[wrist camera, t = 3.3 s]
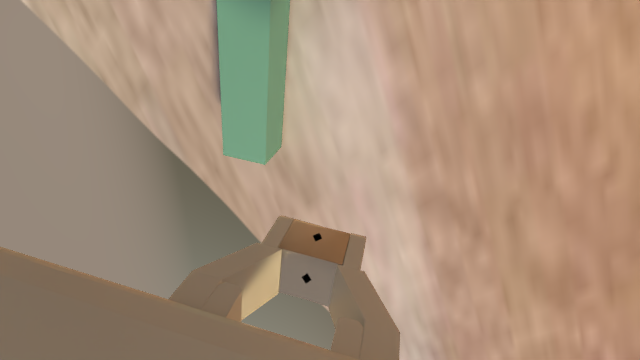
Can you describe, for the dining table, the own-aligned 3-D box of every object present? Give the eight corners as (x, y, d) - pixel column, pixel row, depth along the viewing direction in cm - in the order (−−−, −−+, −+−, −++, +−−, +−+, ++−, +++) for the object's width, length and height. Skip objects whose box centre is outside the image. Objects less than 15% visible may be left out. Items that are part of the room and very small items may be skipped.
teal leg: (237, -108, 16) (201, -131, 13) (299, -102, 15) (275, -125, 12) (240, 138, 22) (217, 156, 20) (283, 147, 22) (265, 168, 19)
